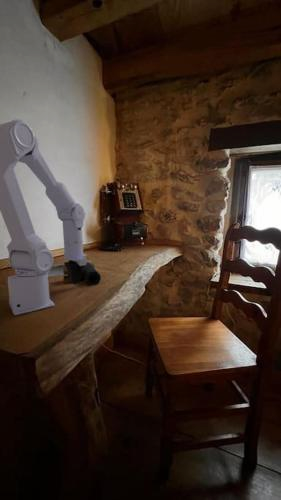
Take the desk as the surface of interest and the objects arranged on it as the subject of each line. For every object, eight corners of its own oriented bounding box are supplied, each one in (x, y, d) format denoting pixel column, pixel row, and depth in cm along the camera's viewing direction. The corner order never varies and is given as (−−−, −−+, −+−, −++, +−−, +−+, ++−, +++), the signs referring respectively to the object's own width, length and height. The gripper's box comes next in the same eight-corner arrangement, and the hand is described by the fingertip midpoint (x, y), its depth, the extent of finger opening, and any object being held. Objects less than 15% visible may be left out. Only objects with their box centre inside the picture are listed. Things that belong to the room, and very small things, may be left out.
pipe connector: (65, 273, 73) (62, 263, 87) (65, 289, 74) (62, 277, 88) (100, 270, 78) (92, 261, 91) (100, 285, 79) (92, 274, 92)
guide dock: (43, 280, 84) (42, 269, 83) (40, 277, 87) (39, 267, 86) (94, 271, 95) (94, 261, 95) (90, 269, 99) (90, 260, 98)
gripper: (94, 243, 69) (96, 286, 71) (77, 239, 81) (79, 276, 83) (71, 245, 65) (74, 291, 67) (56, 240, 77) (59, 279, 79)
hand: (75, 283), depth 75 cm, fingers closed
